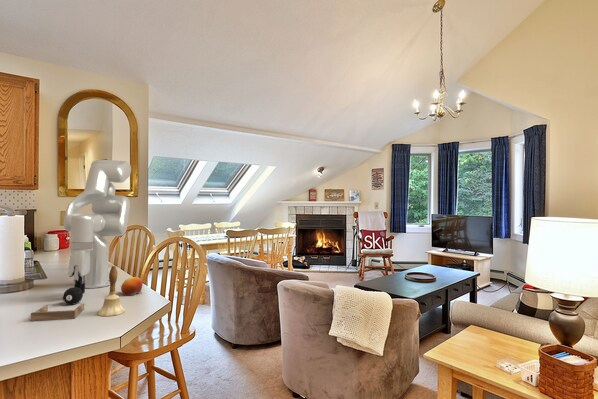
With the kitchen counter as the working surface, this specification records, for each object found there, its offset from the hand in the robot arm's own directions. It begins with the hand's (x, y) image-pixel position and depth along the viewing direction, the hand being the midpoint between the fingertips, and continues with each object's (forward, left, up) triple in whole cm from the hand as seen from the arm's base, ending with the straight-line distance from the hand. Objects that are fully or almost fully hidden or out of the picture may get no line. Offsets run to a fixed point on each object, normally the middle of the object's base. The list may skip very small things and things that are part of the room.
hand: (79, 293), depth 132 cm
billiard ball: (+7, 0, -2) cm, 7 cm away
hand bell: (+20, +16, -2) cm, 26 cm away
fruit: (-4, +18, -2) cm, 19 cm away
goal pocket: (+20, 0, -2) cm, 20 cm away
